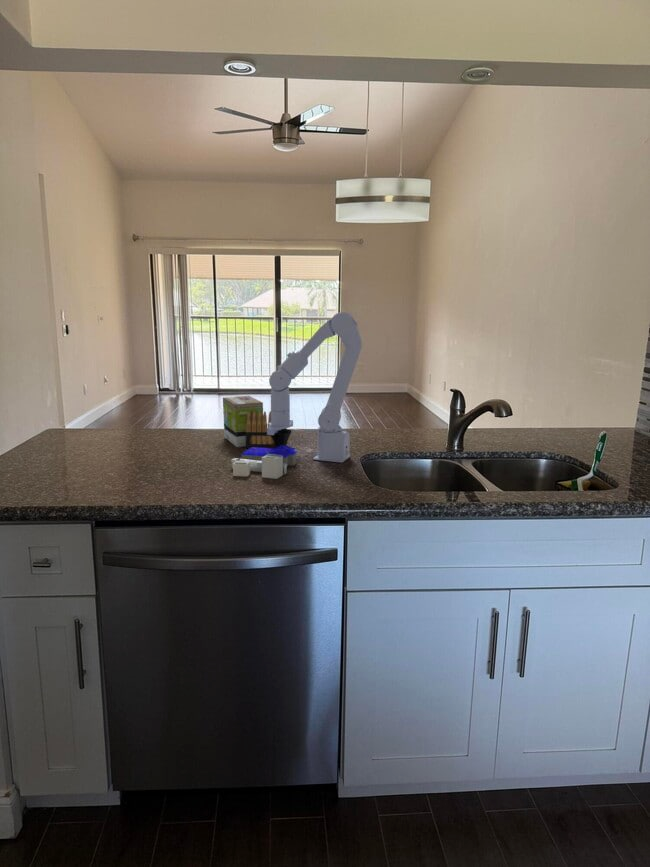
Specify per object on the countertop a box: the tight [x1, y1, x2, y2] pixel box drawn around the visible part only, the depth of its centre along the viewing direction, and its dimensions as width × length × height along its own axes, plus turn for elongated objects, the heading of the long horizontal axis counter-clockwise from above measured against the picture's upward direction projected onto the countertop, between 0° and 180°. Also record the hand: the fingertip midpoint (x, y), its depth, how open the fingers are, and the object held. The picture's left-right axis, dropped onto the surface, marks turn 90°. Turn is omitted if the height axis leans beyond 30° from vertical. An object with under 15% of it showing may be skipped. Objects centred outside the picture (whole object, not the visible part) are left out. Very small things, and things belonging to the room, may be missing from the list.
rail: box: [230, 457, 288, 476], centre depth 164 cm, size 16×2×3 cm, turn 70°
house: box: [240, 445, 298, 467], centre depth 173 cm, size 11×15×5 cm
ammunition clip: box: [245, 410, 275, 449], centre depth 190 cm, size 11×2×12 cm, turn 90°
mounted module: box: [261, 454, 284, 480], centre depth 159 cm, size 4×4×6 cm
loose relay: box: [232, 461, 251, 477], centre depth 160 cm, size 4×3×4 cm
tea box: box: [222, 395, 264, 448], centre depth 198 cm, size 15×10×15 cm, turn 26°
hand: (280, 453), depth 179 cm, fingers closed
